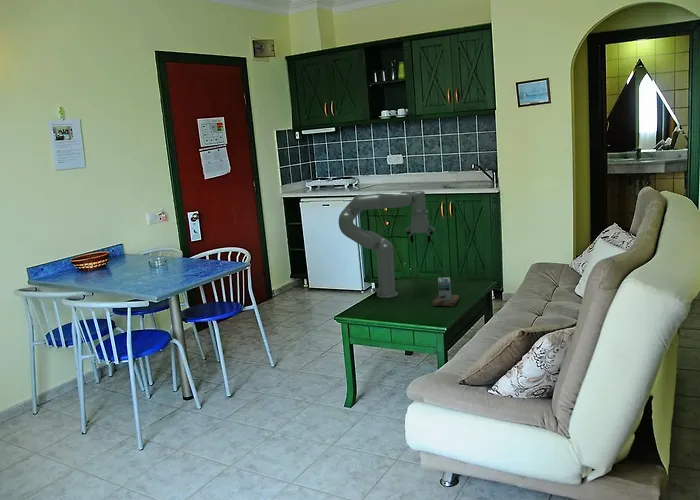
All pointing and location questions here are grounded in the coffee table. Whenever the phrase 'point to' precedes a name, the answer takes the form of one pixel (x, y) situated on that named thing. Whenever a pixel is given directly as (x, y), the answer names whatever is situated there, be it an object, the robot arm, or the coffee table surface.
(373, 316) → the coffee table surface
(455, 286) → the coffee table surface
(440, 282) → the light bulb box
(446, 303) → the walnut stand
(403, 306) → the coffee table surface
